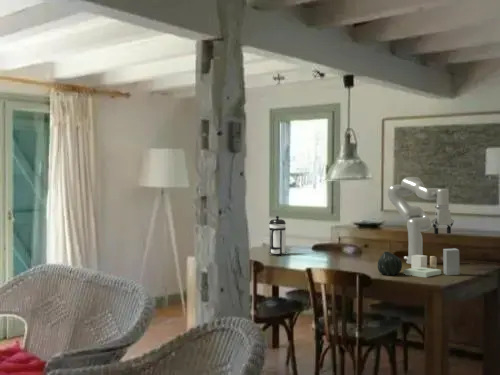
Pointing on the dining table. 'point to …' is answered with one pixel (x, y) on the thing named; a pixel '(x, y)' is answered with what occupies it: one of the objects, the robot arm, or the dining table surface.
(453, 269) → the skincare box
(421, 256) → the block
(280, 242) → the coffee press
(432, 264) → the peg
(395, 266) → the squash
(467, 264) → the dining table surface
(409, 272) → the peg board
